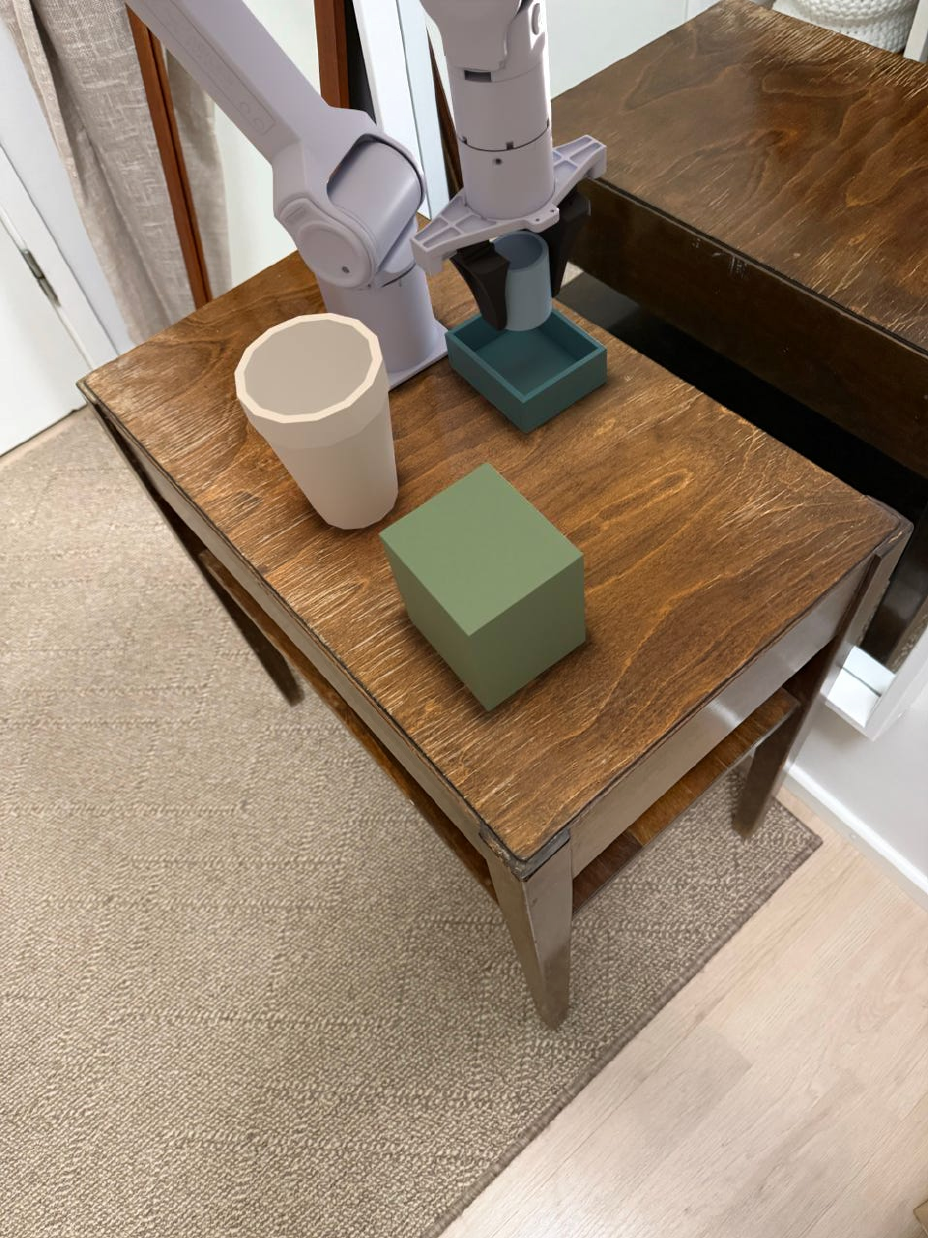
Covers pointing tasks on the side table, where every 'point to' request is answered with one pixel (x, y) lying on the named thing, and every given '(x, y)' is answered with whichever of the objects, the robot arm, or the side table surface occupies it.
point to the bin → (528, 366)
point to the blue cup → (526, 279)
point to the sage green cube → (489, 583)
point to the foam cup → (325, 413)
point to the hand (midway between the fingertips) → (520, 306)
